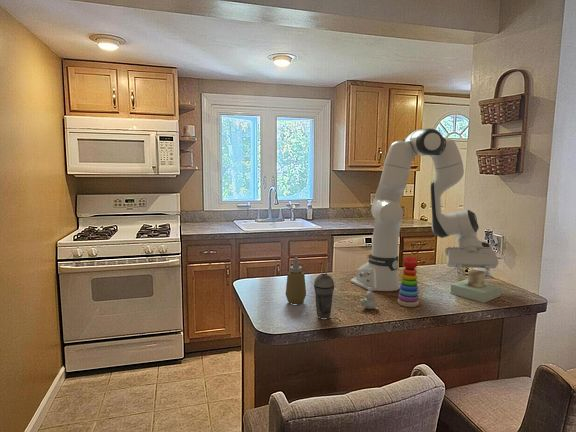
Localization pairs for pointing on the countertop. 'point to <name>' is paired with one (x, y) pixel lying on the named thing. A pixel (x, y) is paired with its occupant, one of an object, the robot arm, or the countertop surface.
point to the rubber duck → (369, 300)
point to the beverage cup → (324, 294)
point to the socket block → (476, 291)
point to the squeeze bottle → (295, 284)
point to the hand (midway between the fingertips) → (474, 275)
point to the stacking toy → (409, 284)
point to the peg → (476, 278)
